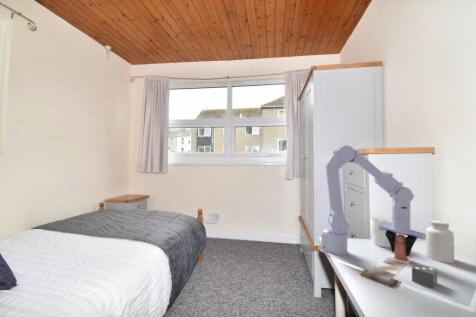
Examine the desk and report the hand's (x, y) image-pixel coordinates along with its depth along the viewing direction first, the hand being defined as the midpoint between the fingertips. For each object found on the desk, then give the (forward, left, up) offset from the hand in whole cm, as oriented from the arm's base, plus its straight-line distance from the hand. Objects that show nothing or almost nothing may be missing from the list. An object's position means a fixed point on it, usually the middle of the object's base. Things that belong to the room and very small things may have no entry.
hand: (400, 253), depth 84 cm
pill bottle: (+9, +13, -3) cm, 16 cm away
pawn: (0, 0, -2) cm, 2 cm away
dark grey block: (+10, -14, -3) cm, 18 cm away
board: (0, -10, -3) cm, 10 cm away
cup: (-10, +11, -3) cm, 15 cm away
